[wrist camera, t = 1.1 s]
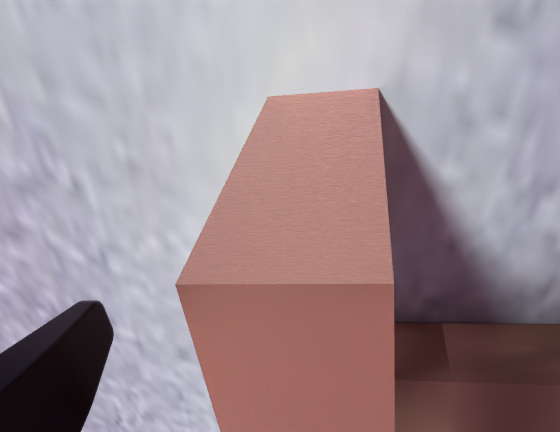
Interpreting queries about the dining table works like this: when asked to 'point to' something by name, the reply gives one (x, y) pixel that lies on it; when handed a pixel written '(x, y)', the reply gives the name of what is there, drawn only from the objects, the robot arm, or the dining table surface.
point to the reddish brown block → (299, 274)
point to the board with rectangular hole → (477, 377)
